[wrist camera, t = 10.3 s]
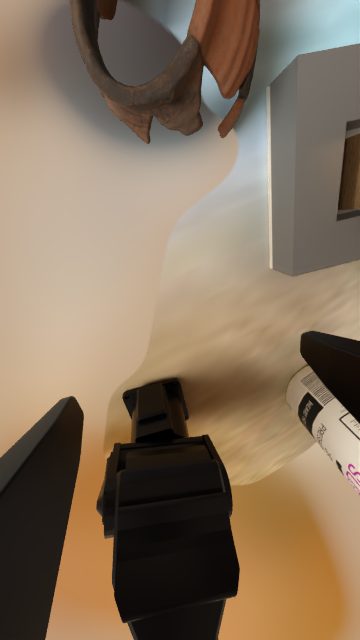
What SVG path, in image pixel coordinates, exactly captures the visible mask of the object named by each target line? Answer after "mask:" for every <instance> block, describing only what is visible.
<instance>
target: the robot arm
mask: <svg viewBox="0 0 360 640" xmlns="http://www.w3.org/2000/svg"><path fill="white" fill-rule="evenodd" d="M300 353H301V355H302V357H303V358H304V360H305V361H306V362H307V363H308V365H309V366H310V367H311V369H312V370H313V371H314V373H315V374H316V375H317V377H318V378H319V379H320V381H321V382H322V383H323V384H324V386H325V387H326V388H327V389H328V390H329V391H330V393H331V394H332V395H333V396H334V397H335V398H336V399H337V400H338V401H339V402H340V403H341V404H342V405H343V407H344V408H345V409H346V410H347V411H348V412H349V413H350V414H351V415H352V416H353V417H354V418H355V419H356V421H357V422H358V423H359V424H360V341H357V340H353V339H348V338H344V337H339V336H335V335H330V334H325V333H321V332H316V331H309V332H305V333H303V334H302V335H301V342H300ZM175 382H176V384H174V383H175ZM126 396H128V397H126ZM122 398H123V401H124V403H125V405H126V408H127V410H128V412H129V415H130V417H131V419H132V432H131V443H125V444H121V443H115V444H114V449H113V452H111V455H110V457H109V458H107V466H106V472H105V478H104V482H103V485H102V487H101V491H100V493H99V496H98V500H97V511H98V512H99V514H100V515H101V516H102V522H103V525H104V536H105V538H111V537H114V547H113V569H112V584H113V588H114V597H115V601H116V604H117V607H118V610H119V613H120V617H121V620H122V622H123V623H128V626H129V628H130V631H131V633H132V636H133V638H134V640H218V634H219V630H220V625H221V621H222V615H223V611H224V607H225V602H226V599H227V598H232V597H235V596H236V595H237V591H238V582H239V571H240V568H239V563H238V558H237V554H236V549H235V545H234V541H233V536H232V531H231V525H230V518H229V517H231V515H232V505H233V504H232V494H231V487H230V482H229V478H228V475H227V472H226V469H225V467H224V464H223V462H222V461H221V459H220V457H219V455H218V453H217V451H216V449H215V447H214V445H213V443H212V441H211V440H210V438H209V436H208V434H207V435H202V436H198V437H189V434H188V430H187V425H186V420H188V418H189V416H188V412H187V408H186V404H185V401H184V397H183V393H182V389H181V385H180V382H179V379H177V378H174V379H170V380H167V381H163V382H159V383H156V384H152V385H148V386H145V387H141V388H138V389H134V390H130V391H127V392H124V393H123V397H122ZM83 420H84V415H83V411H82V409H81V407H80V406H79V404H78V402H77V400H76V399H75V397H73V396H70V397H66V398H63V399H61V400H60V401H59V402H58V403H57V404H56V405H54V406H53V407H52V408H51V409H50V410H49V411H48V412H47V413H46V414H45V415H44V416H43V417H42V418H41V419H40V420H39V421H38V422H37V423H36V424H35V425H34V426H33V427H32V428H31V429H30V430H29V431H28V432H27V433H26V434H24V435H23V436H22V438H20V439H19V440H18V442H16V443H15V445H13V446H12V447H11V448H10V449H9V450H8V451H7V452H6V453H5V454H4V455H3V456H2V457H1V458H0V640H45V638H46V633H47V628H48V623H49V618H50V612H51V606H52V602H53V597H54V592H55V586H56V581H57V576H58V571H59V566H60V561H61V555H62V549H63V545H64V540H65V535H66V530H67V524H68V519H69V513H70V509H71V504H72V498H73V493H74V488H75V483H76V478H77V473H78V467H79V462H80V454H81V443H82V432H83Z"/></svg>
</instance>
